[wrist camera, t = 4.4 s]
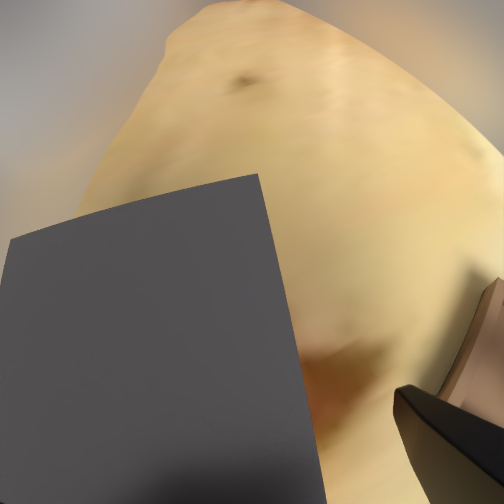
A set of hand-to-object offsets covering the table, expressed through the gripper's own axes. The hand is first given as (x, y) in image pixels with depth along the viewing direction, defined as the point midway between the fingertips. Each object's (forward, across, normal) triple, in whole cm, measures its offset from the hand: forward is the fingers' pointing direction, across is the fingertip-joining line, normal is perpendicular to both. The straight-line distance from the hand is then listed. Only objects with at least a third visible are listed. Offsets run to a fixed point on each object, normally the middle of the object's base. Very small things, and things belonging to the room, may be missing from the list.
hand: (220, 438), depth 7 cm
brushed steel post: (+7, 0, +6) cm, 9 cm away
